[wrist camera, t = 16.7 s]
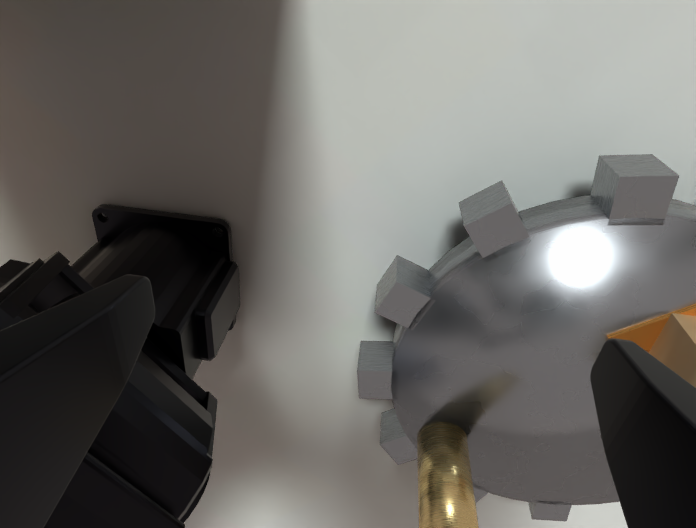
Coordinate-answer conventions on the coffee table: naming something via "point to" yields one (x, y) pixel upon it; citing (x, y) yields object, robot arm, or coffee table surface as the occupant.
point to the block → (678, 346)
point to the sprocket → (526, 339)
